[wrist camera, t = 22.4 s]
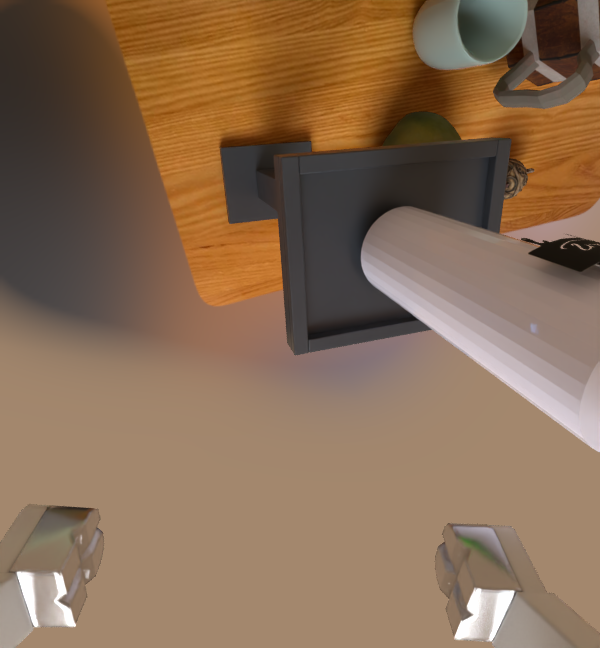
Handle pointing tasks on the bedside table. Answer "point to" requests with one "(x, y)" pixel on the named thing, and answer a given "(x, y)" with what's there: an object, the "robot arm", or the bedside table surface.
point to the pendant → (515, 178)
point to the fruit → (421, 130)
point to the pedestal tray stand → (354, 221)
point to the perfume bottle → (501, 305)
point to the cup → (467, 31)
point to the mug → (553, 54)
